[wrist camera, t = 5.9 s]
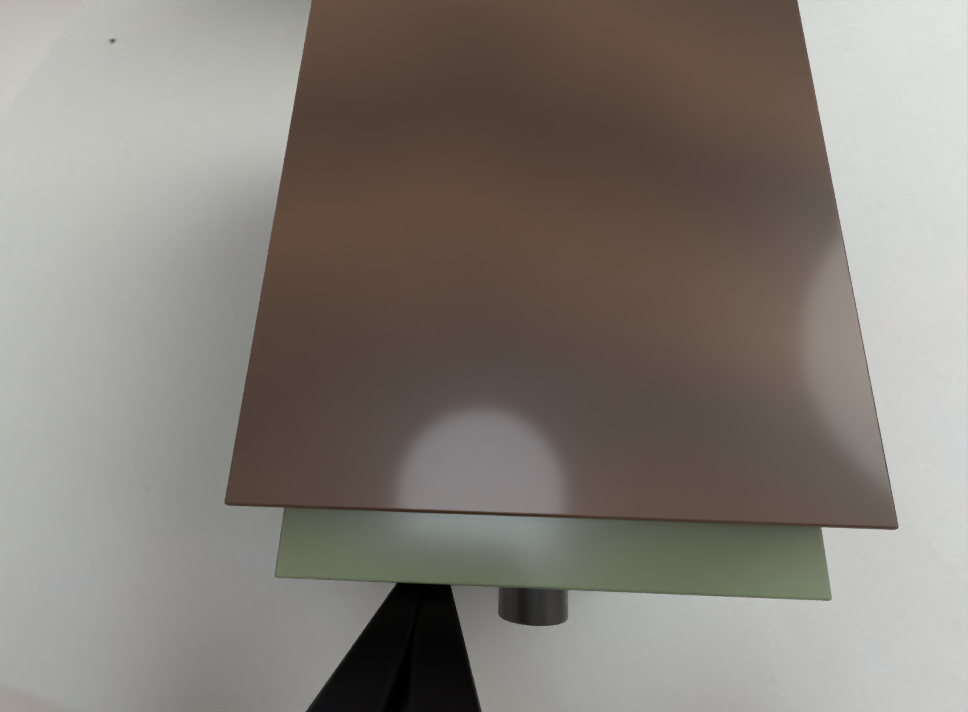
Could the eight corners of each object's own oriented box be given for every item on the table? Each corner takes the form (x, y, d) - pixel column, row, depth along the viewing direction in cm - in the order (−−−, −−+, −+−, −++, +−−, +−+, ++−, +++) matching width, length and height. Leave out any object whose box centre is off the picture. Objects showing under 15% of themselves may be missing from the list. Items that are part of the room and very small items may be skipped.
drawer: (683, 594, 14) (846, 685, 8) (369, 581, 14) (262, 657, 8) (653, 192, 18) (745, 18, 11) (404, 189, 18) (352, 18, 12)
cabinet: (685, 508, 16) (901, 529, 7) (365, 497, 16) (222, 505, 8) (658, 156, 19) (780, -95, 11) (398, 154, 20) (326, -92, 11)
